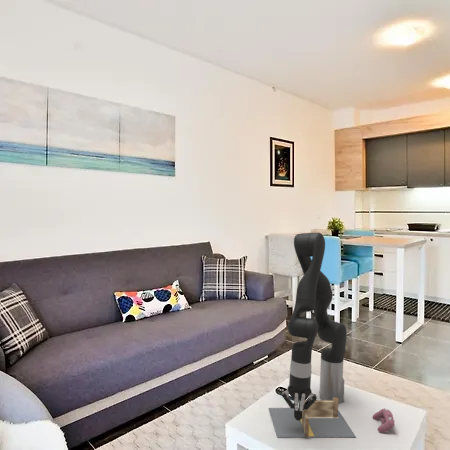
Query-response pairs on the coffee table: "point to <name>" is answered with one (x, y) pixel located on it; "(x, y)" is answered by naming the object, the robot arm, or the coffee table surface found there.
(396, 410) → the coffee table surface
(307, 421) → the fence panel
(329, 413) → the wooden toy fence
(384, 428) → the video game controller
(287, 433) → the card
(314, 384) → the coffee table surface
